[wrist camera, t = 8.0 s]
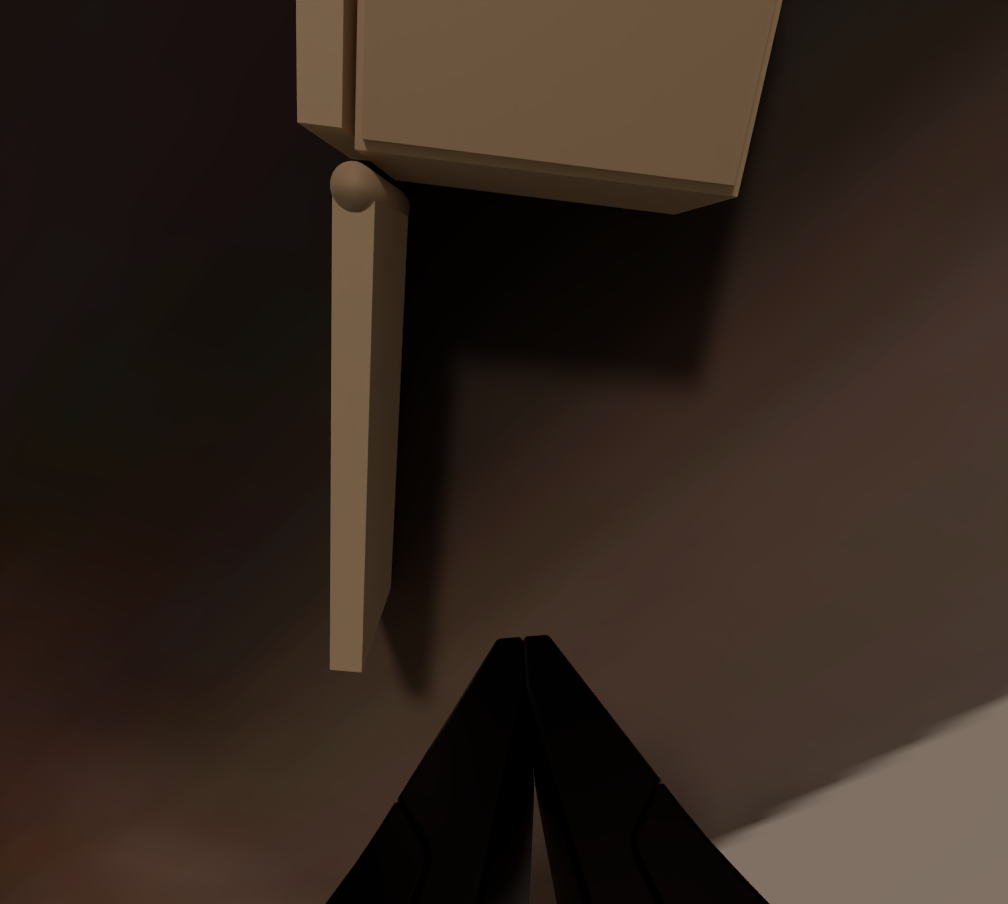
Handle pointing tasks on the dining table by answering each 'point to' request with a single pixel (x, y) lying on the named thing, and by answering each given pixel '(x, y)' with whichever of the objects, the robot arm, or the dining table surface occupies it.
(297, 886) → the dining table surface
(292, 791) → the dining table surface
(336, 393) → the flap
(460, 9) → the carton
